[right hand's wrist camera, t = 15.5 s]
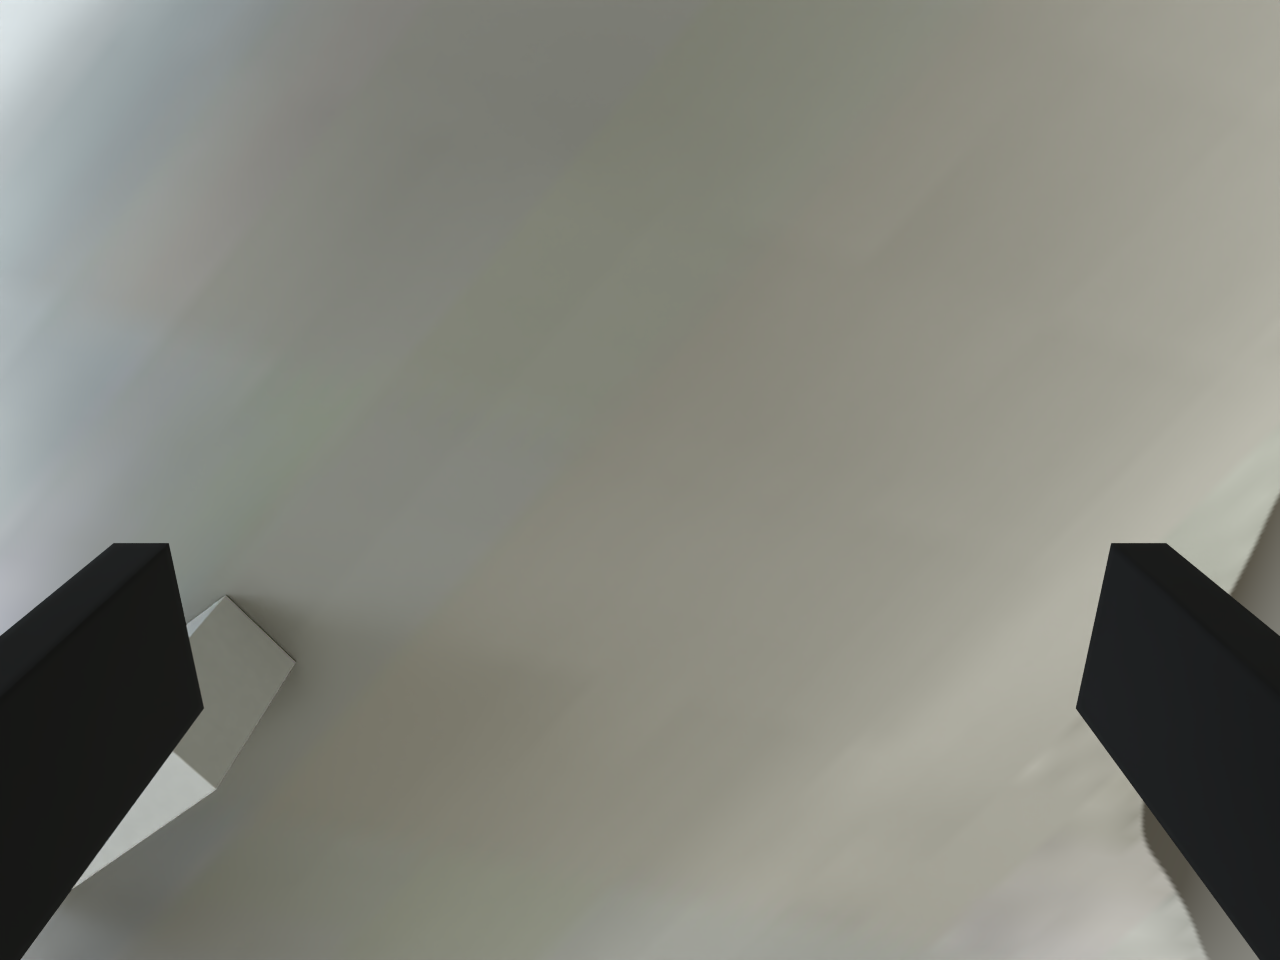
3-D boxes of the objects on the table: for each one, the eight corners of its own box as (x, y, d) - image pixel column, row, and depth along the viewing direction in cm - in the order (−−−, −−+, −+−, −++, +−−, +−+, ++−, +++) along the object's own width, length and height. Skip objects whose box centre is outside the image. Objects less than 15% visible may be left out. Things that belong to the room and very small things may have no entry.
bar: (226, 594, 45) (125, 710, 36) (296, 661, 47) (216, 789, 38) (-78, 824, 51) (-230, 974, 42) (-7, 878, 52) (-138, 1034, 43)
